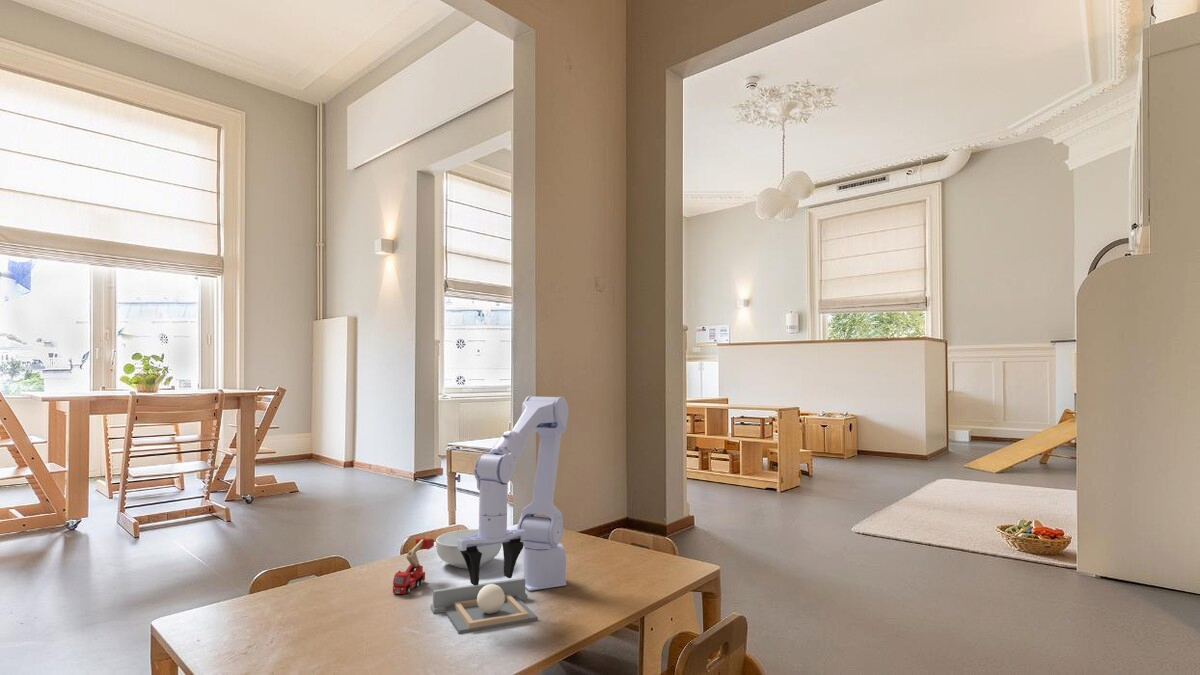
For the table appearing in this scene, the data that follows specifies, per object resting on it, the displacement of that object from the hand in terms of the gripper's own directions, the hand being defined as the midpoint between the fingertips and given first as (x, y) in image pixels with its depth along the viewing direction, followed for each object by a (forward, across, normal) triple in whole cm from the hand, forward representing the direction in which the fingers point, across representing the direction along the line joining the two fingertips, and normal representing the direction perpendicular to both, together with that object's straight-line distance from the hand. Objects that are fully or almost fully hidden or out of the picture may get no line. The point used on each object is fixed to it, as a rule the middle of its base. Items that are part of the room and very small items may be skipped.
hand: (491, 580), depth 127 cm
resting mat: (+7, 0, 0) cm, 7 cm away
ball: (+4, 0, 0) cm, 4 cm away
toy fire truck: (+7, +6, -27) cm, 28 cm away
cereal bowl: (+8, -12, -34) cm, 37 cm away
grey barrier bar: (+7, -1, -7) cm, 10 cm away
